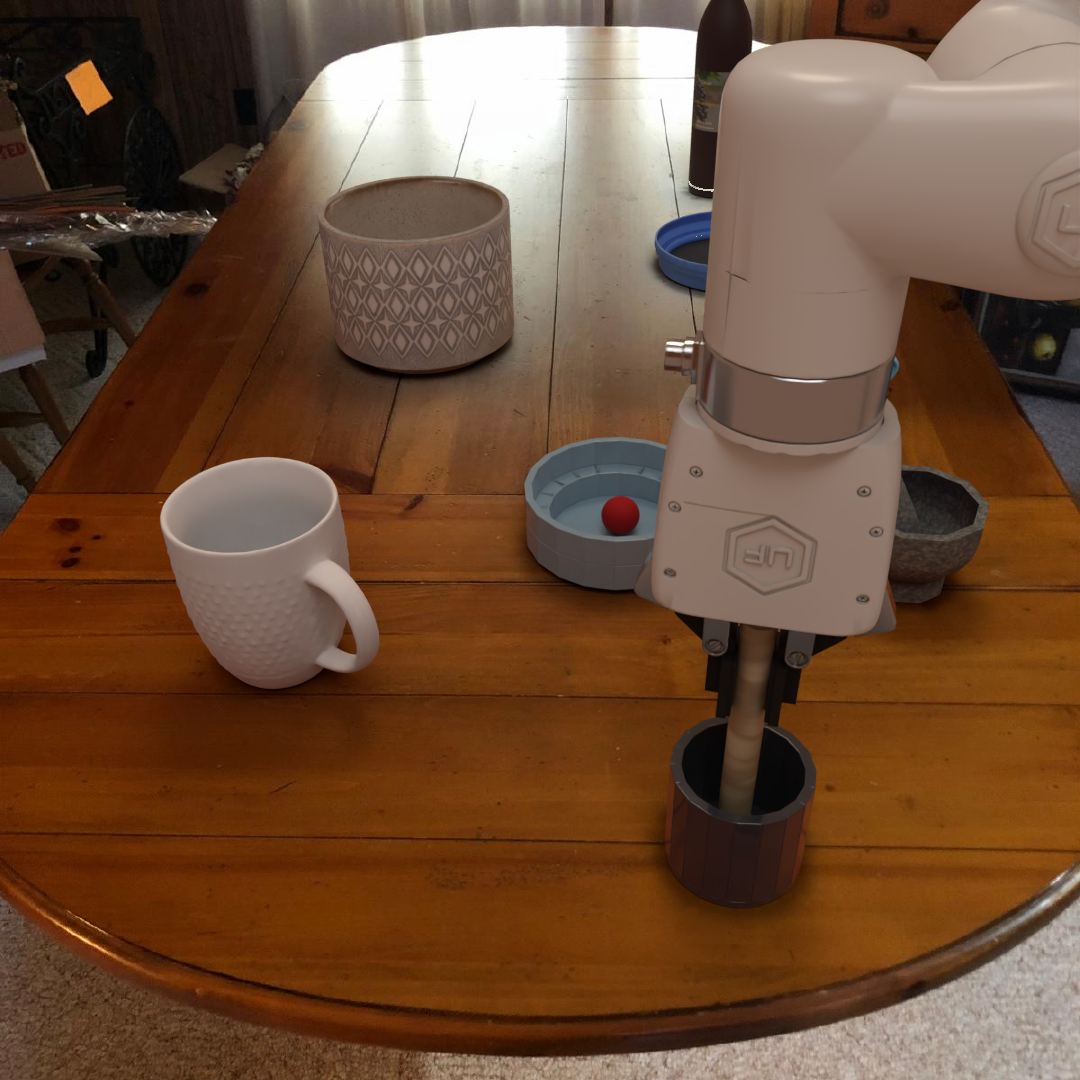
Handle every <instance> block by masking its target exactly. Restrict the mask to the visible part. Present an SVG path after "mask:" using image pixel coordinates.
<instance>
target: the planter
mask: <svg viewBox="0 0 1080 1080" xmlns="http://www.w3.org/2000/svg"><path fill="white" fill-rule="evenodd" d="M510 207H511V206H510V200H509V198H508V196H506V194H505V193H504V192H502V191H501V190H500V189H499V188H496V187H495V186H493V185H491V184H488V183H485V182H482V181H479V180H475V179H471V178H463V177H457V176H448V175H409V176H408V175H407V176H398V177H390V178H384V179H378V180H373V181H368V182H364V183H361V184H358V185H354V186H351V187H348V188H345V189H344V190H341V191H339V192H336V193H335V194H333V195H331V196H330V197H329V198H327V199H326V200H325V201H323V203H321V205H320V206H319V208H318V210H317V216H316V217H317V222H318V230H319V236H320V244H321V250H322V257H323V263H324V271H325V278H326V285H327V292H328V298H329V304H330V311H331V318H332V319H331V320H332V325H333V331H334V338H335V342H336V343H335V344H336V345H337V346H338V348H339V349H340V350H341V351H342V352H343V353H344V354H346V355H347V356H348V357H350V358H352V359H354V360H356V361H357V362H360V363H363V364H365V365H369V366H372V367H374V368H376V369H380V370H383V371H386V372H391V373H396V374H405V375H425V374H427V375H428V374H438V373H444V372H449V371H455V370H457V369H458V370H459V369H461V368H464V367H467V366H469V365H472V364H474V363H476V362H478V361H480V360H482V359H483V358H484V357H487V356H489V355H490V354H493V353H494V352H496V351H497V350H499V349H500V348H501V347H503V346H504V345H505V344H506V343H507V342H508V341H509V340H510V338H511V337H512V335H513V333H514V331H515V308H514V306H515V305H514V283H513V259H512V258H513V257H512V256H513V255H512V235H511V234H512V231H511V209H510Z"/></svg>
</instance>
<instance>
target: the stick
mask: <svg viewBox="0 0 1080 1080" xmlns="http://www.w3.org/2000/svg"><path fill="white" fill-rule="evenodd" d="M739 626H740V628H739V636H738V657H737V666H736V674H735V682H734V690H733V698H732V706H731V713H730V717H729V720H728V728H727V736H726V745H725V753H724V761H723V770H722V778H721V786H720V795H719V803H718V809H720V810H723V811H727V812H730V813H733V814H736V815H751V810H752V803H753V797H754V790H755V783H756V776H757V769H758V763H759V756H760V749H761V742H762V735H763V729H764V716H765V708H766V701H767V694H768V687H769V680H770V673H771V667H772V660H773V653H774V651H775V647H776V640H777V633H778V631H779V629H778V628H771V627H764V626H757V625H750V624H743V623H739Z"/></svg>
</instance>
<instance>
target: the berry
mask: <svg viewBox="0 0 1080 1080" xmlns="http://www.w3.org/2000/svg"><path fill="white" fill-rule="evenodd" d="M601 518H602V522H603V524H604V526H605V527H606V528H607V529H608V530H609V531H610V532H612V533H615V534H626V533H629V532H631V531H632V530H633V529H634V528H635V527H636V526H637V524H638V522H639V518H640V512H639V508H638V506H637V504H636V503H635V502H634V501H633V500H632V499H630V498H628V497H625V496H616V497H613V498H611V499H609V500H608V501H607V502H606V503H605V504H604V506H603V508H602V512H601Z"/></svg>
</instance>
